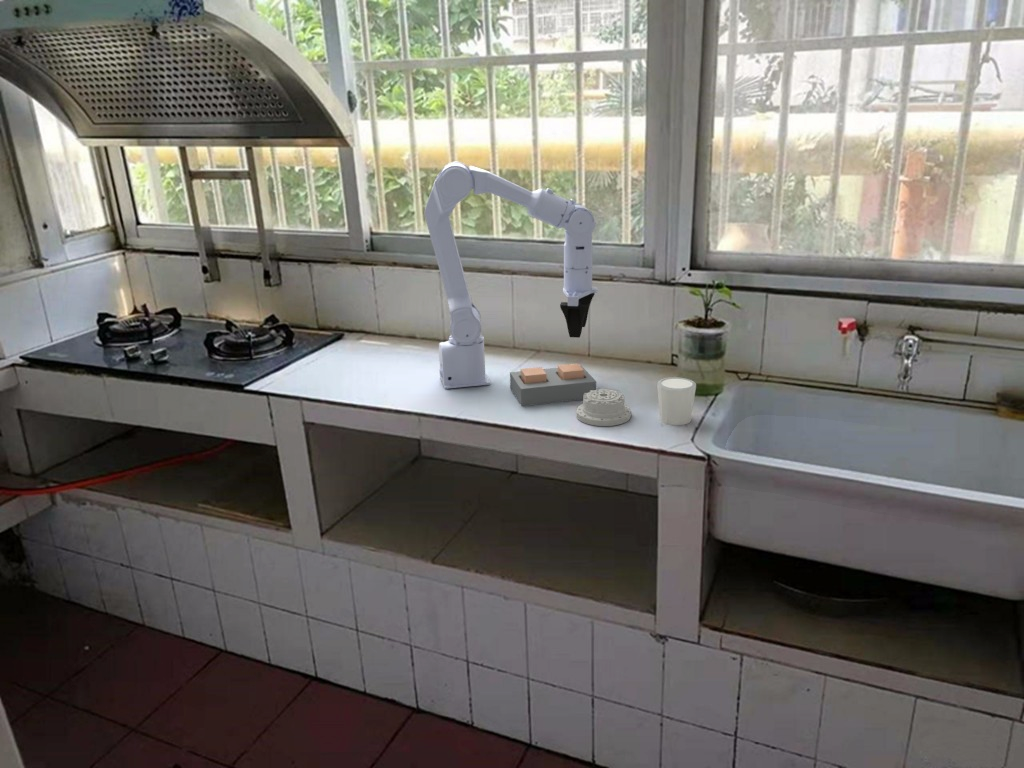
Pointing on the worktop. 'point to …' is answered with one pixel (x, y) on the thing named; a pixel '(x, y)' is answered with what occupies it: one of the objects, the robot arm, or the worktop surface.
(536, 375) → the button
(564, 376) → the button
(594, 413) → the mechanical component
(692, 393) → the white cup
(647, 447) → the worktop surface
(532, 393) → the switch block
